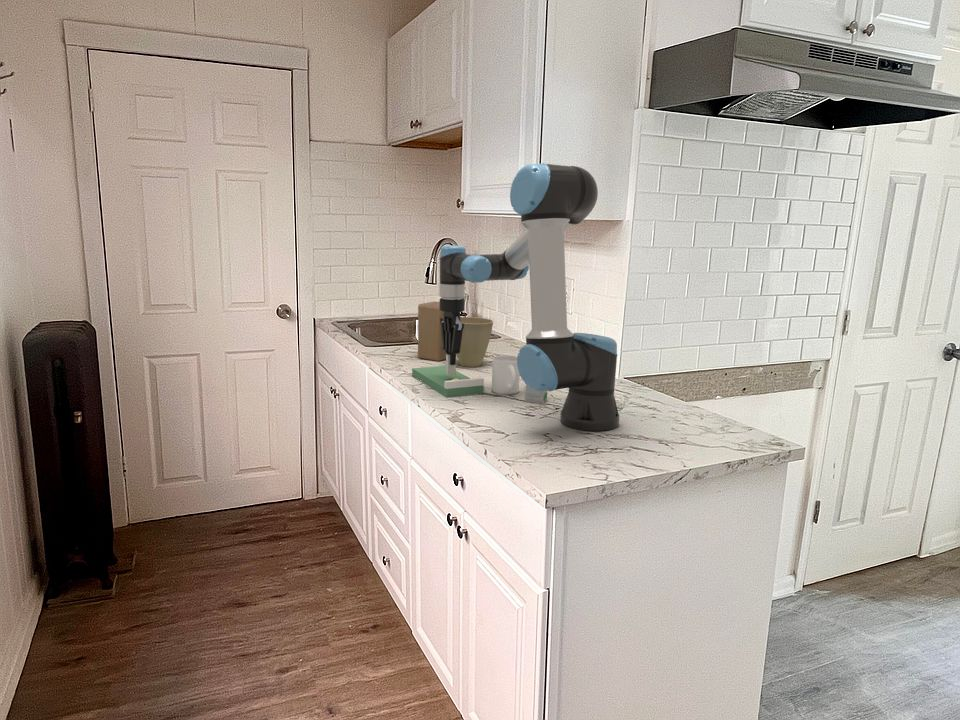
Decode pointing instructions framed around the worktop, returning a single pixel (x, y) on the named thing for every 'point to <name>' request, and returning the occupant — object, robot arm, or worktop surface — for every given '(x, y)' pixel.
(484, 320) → the plant pot
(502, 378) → the mug
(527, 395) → the small box
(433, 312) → the wooden block
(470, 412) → the worktop surface
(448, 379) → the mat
